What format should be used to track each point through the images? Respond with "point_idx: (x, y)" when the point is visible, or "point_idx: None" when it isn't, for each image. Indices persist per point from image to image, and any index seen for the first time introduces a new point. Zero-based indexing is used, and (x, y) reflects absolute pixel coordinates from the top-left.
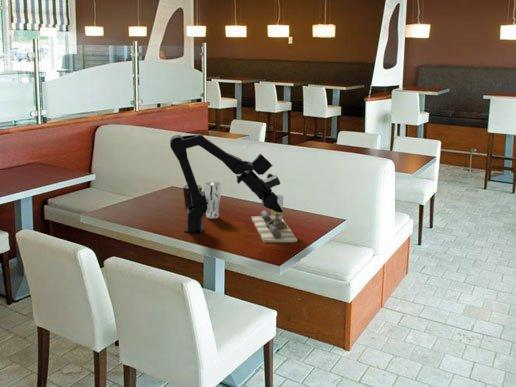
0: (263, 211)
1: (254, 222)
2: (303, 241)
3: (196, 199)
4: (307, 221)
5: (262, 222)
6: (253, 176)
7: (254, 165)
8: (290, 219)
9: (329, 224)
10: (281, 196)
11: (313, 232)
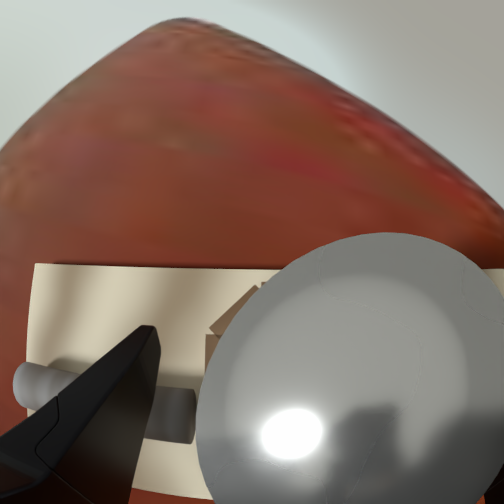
0: (26, 398)
1: (157, 491)
2: (491, 237)
3: None
4: (142, 125)
5: (163, 443)
6: None
7: None
8: (82, 210)
9: (216, 52)
10: (416, 296)
11: (352, 140)
